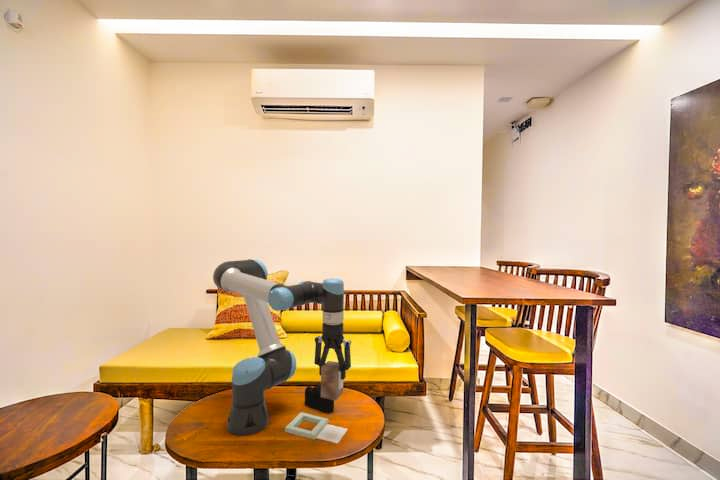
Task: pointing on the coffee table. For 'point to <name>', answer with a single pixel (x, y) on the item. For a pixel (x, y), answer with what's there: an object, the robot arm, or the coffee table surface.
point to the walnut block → (330, 381)
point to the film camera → (318, 400)
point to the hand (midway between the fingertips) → (332, 385)
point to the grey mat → (332, 433)
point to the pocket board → (294, 429)
